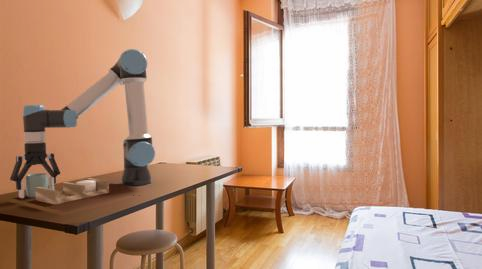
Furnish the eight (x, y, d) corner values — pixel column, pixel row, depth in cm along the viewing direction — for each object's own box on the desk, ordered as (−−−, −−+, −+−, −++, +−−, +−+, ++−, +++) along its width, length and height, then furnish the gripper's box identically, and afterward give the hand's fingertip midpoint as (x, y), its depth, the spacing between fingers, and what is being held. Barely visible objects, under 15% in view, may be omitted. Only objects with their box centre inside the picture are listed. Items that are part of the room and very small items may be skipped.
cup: (28, 197, 136) (27, 174, 135) (49, 195, 139) (48, 172, 138) (24, 201, 128) (23, 176, 128) (46, 199, 131) (45, 175, 131)
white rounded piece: (89, 190, 141) (89, 179, 141) (99, 192, 137) (99, 181, 137) (72, 194, 135) (72, 182, 135) (83, 196, 131) (82, 184, 131)
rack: (89, 191, 145) (89, 178, 145) (109, 195, 137) (108, 180, 137) (35, 202, 126) (35, 187, 125) (55, 207, 118) (54, 190, 118)
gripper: (58, 140, 145) (60, 188, 145) (-2, 143, 125) (0, 199, 125) (68, 140, 141) (70, 190, 141) (6, 144, 121) (9, 201, 122)
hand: (37, 194), depth 133 cm, fingers open, 11 cm apart
